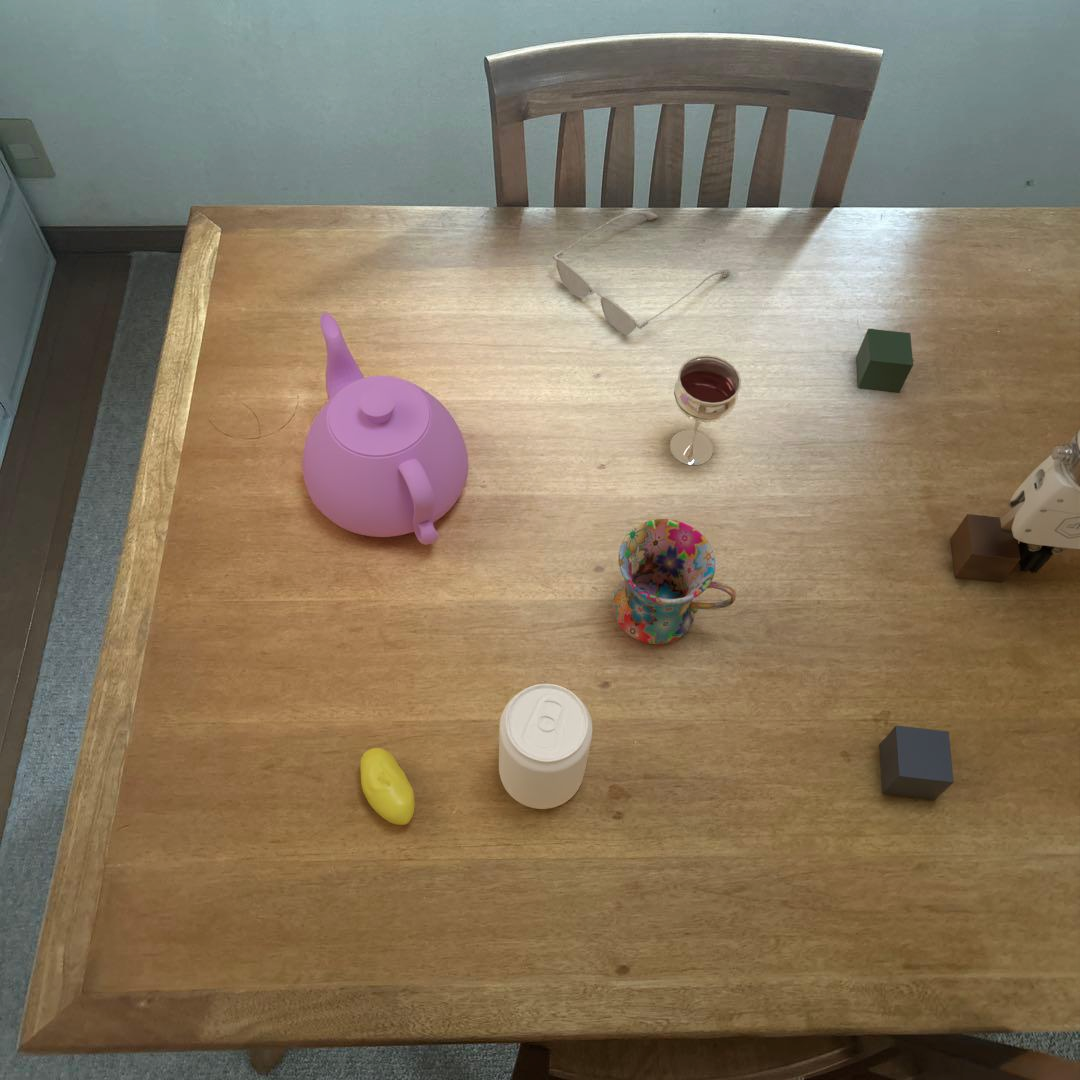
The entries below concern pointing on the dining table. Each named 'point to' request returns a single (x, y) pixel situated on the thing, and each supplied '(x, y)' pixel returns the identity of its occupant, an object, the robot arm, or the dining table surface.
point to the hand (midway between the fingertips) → (1025, 560)
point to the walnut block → (983, 549)
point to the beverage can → (544, 745)
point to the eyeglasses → (610, 308)
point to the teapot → (381, 451)
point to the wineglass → (703, 403)
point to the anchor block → (916, 762)
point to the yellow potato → (386, 786)
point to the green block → (884, 360)
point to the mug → (664, 580)
